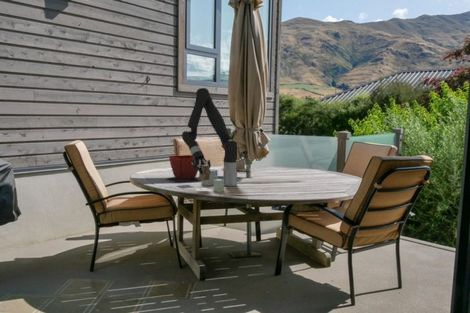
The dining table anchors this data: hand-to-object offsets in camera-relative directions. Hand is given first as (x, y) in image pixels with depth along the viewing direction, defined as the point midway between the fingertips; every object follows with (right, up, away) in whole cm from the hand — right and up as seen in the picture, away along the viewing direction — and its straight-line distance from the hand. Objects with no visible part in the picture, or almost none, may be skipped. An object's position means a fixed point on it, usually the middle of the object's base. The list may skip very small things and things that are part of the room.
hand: (205, 173), depth 289 cm
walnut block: (-1, -4, +2) cm, 5 cm away
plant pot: (-20, -6, +55) cm, 59 cm away
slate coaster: (-15, -10, +13) cm, 22 cm away
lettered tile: (-2, -12, +3) cm, 12 cm away
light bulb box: (+1, -9, +26) cm, 27 cm away
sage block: (+9, -12, 0) cm, 15 cm away
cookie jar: (+20, -1, +110) cm, 112 cm away
